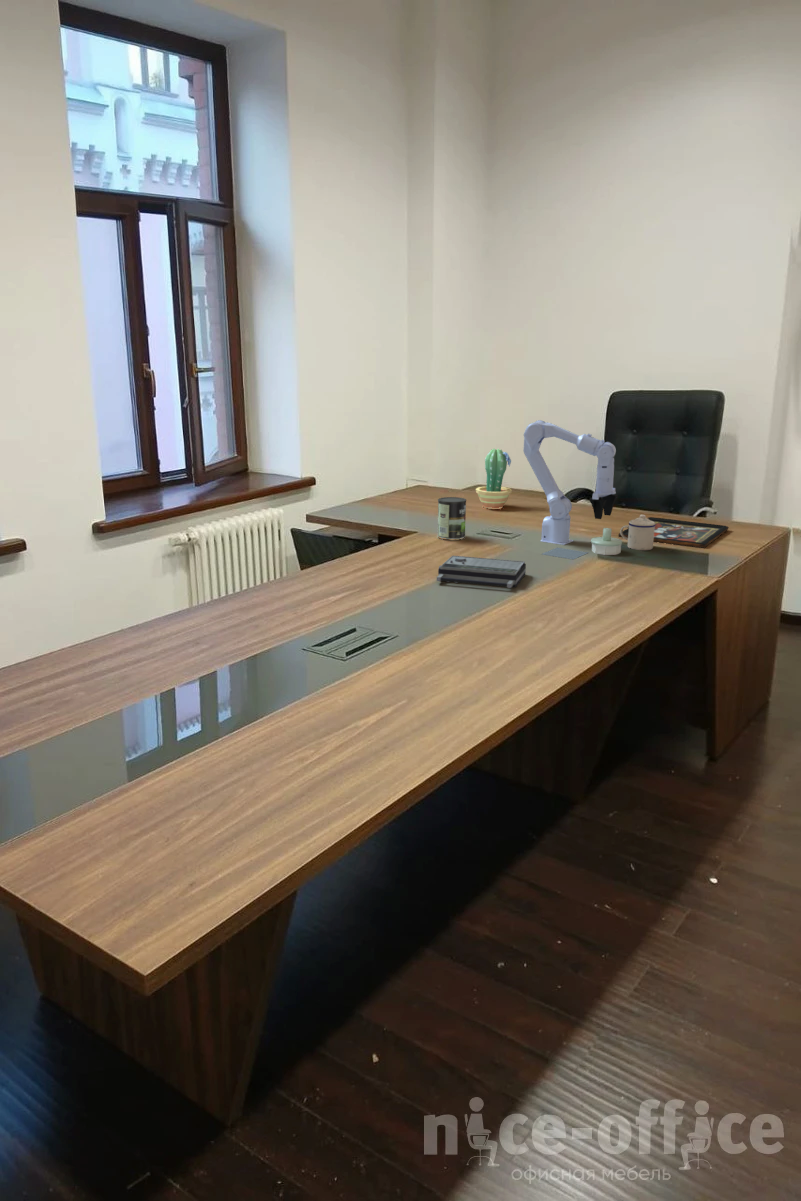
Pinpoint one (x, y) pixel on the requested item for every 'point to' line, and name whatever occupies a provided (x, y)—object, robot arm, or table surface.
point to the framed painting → (684, 532)
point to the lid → (606, 539)
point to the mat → (565, 553)
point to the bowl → (606, 549)
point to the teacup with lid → (640, 533)
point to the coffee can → (451, 517)
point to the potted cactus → (495, 480)
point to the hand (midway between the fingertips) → (602, 516)
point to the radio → (482, 571)
